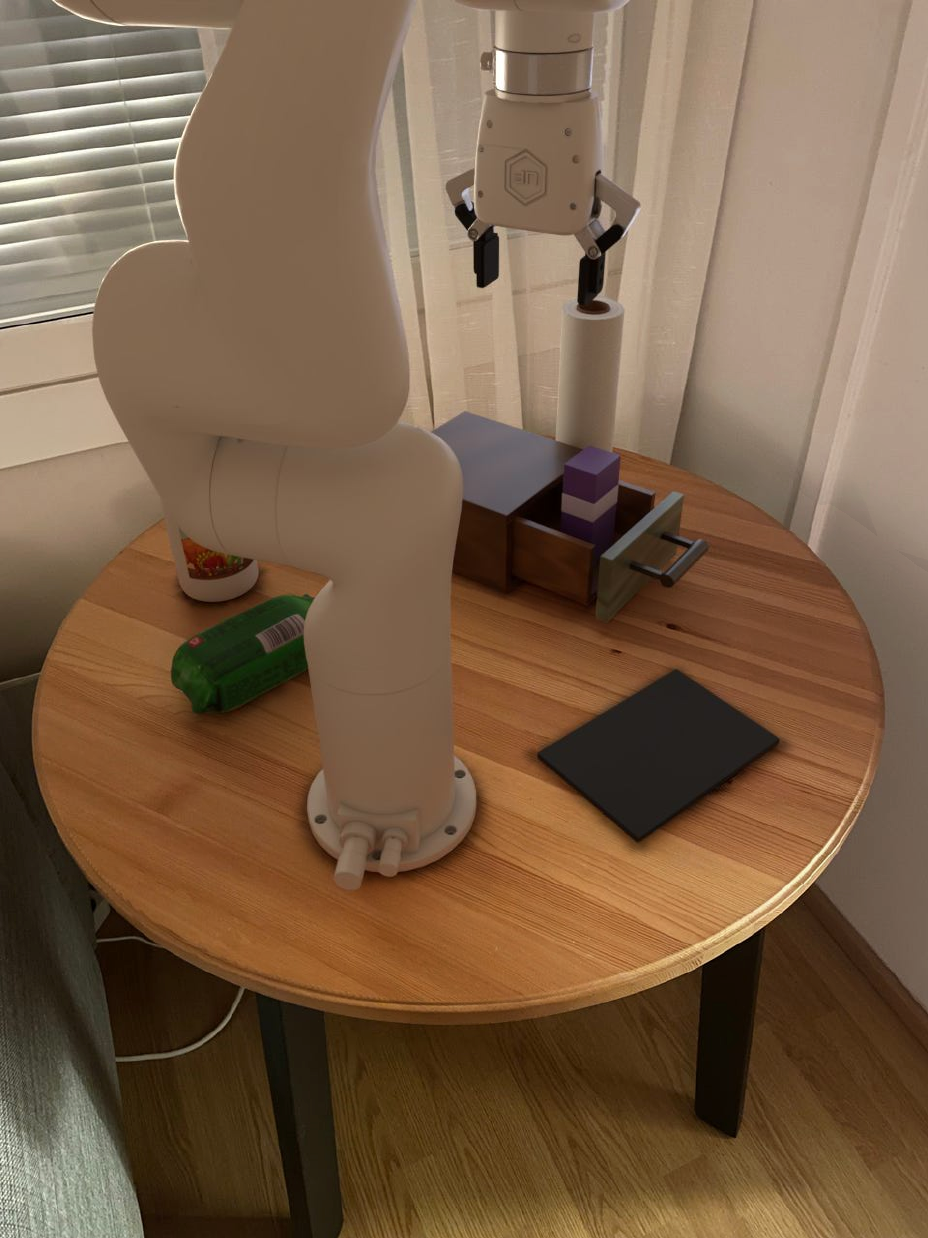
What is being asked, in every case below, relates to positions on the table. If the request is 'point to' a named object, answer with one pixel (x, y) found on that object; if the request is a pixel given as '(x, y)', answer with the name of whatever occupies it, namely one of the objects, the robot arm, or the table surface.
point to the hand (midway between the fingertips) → (536, 291)
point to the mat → (657, 753)
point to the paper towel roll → (589, 372)
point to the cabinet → (498, 490)
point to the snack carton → (591, 498)
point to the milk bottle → (208, 568)
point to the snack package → (243, 655)
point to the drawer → (623, 568)
